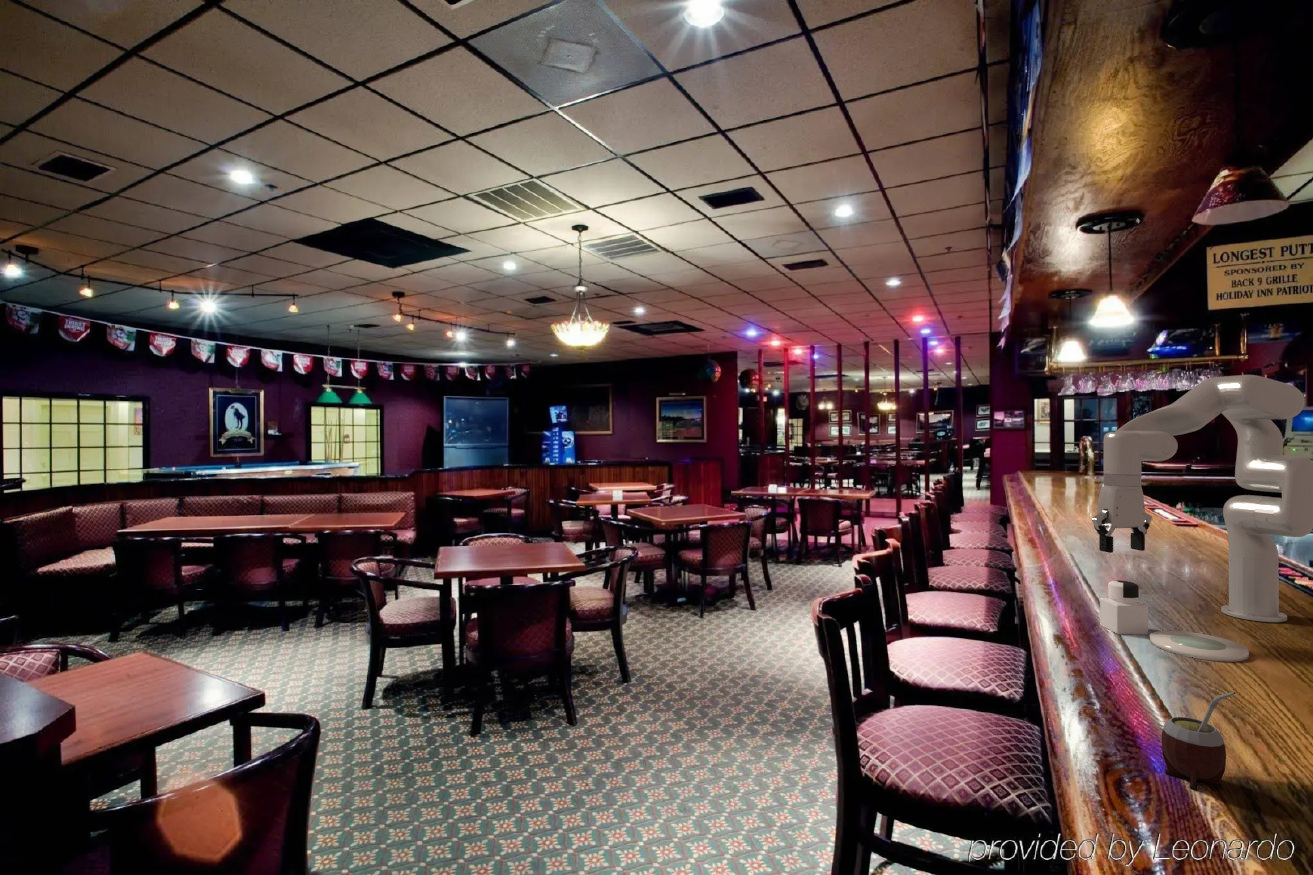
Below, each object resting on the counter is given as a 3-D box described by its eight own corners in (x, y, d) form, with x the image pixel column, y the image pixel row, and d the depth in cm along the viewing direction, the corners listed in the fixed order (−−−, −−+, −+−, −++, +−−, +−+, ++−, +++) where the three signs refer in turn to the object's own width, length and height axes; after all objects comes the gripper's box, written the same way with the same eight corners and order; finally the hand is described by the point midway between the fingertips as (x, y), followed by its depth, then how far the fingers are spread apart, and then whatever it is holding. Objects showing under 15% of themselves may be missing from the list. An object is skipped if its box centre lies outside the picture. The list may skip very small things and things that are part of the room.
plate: (1153, 631, 155) (1153, 625, 155) (1248, 646, 143) (1248, 640, 143) (1146, 649, 142) (1146, 643, 142) (1249, 667, 131) (1249, 661, 131)
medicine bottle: (1129, 626, 159) (1129, 578, 159) (1148, 635, 152) (1148, 585, 152) (1099, 625, 160) (1099, 578, 159) (1117, 634, 152) (1116, 585, 152)
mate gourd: (1161, 762, 95) (1161, 663, 95) (1232, 780, 90) (1232, 675, 90) (1161, 784, 89) (1160, 678, 89) (1236, 804, 84) (1236, 692, 84)
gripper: (1135, 479, 161) (1134, 546, 161) (1080, 481, 157) (1080, 549, 157) (1165, 482, 154) (1164, 551, 154) (1108, 483, 150) (1108, 555, 150)
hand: (1122, 550), depth 155 cm, fingers open, 9 cm apart
